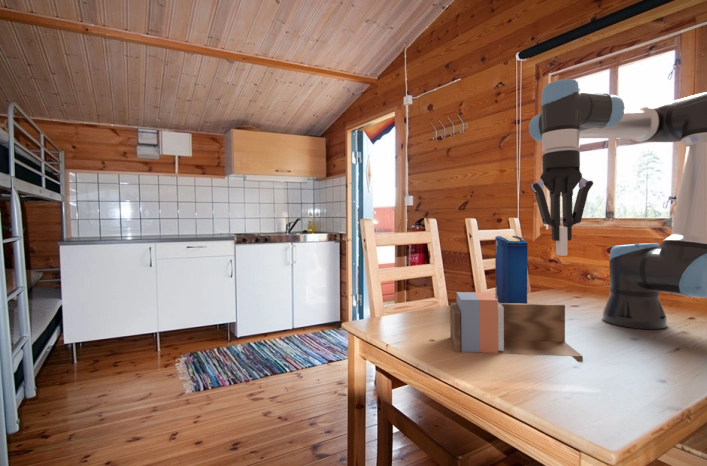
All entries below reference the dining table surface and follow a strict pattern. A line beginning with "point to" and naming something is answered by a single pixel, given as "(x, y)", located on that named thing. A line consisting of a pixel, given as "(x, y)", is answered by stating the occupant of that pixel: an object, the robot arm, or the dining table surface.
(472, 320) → the book
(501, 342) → the bookend
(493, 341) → the book
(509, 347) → the shelf
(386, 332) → the dining table surface
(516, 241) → the book
